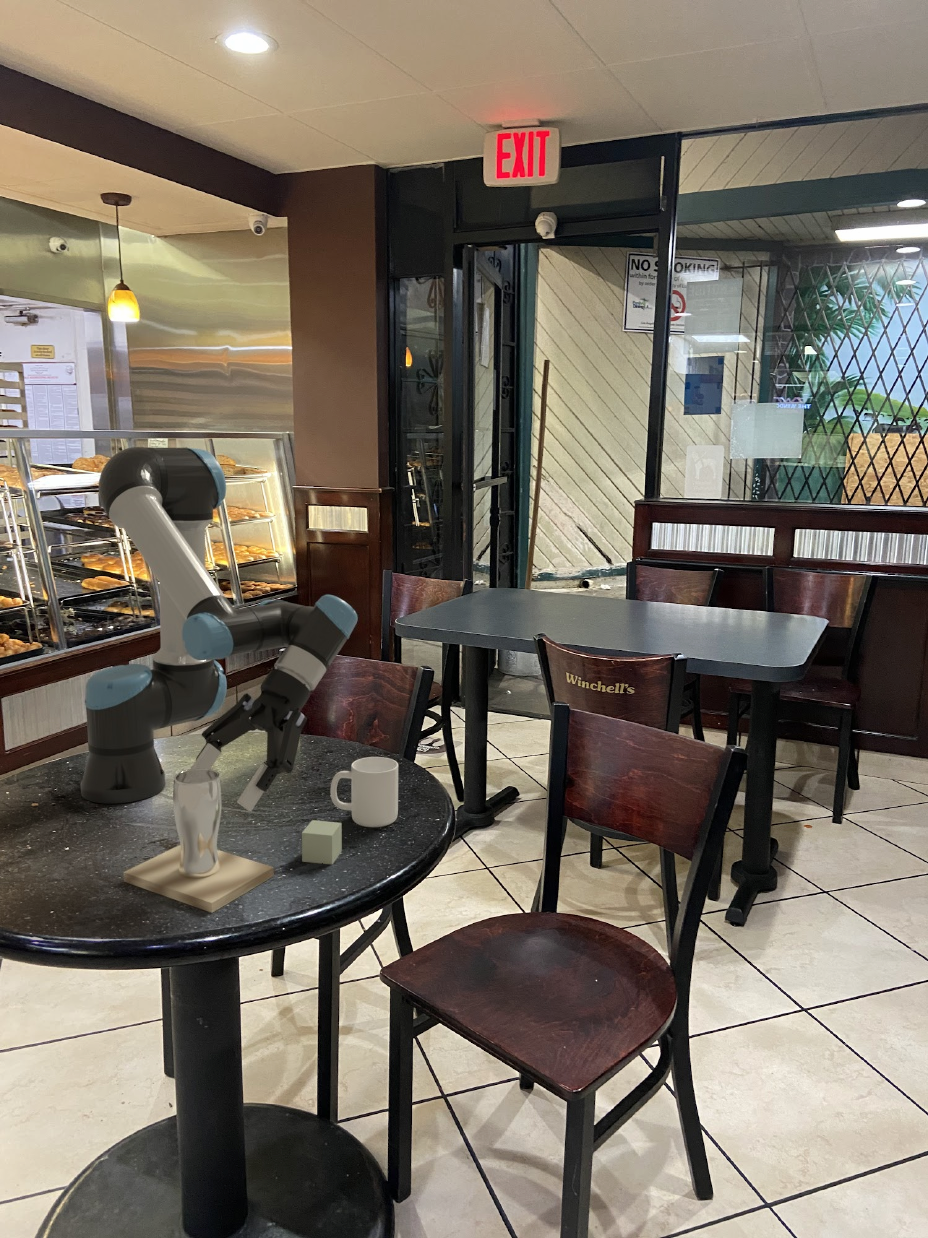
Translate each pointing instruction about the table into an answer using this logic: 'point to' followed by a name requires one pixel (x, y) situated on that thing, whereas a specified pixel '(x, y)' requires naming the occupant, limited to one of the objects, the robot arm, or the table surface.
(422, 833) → the table surface
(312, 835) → the sage block
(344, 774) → the cup
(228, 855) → the board
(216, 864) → the beer glass
